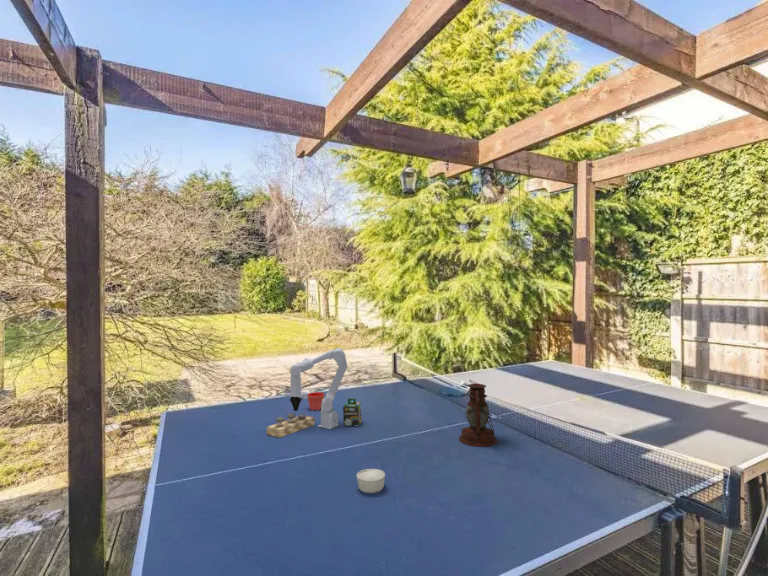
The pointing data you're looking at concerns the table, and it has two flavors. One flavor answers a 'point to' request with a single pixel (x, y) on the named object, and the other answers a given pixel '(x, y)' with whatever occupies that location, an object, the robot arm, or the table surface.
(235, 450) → the table surface
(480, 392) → the lantern
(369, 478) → the ramekin
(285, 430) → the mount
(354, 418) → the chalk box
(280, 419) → the plunger
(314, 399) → the flower pot
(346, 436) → the table surface
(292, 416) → the plunger
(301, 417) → the plunger
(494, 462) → the table surface
